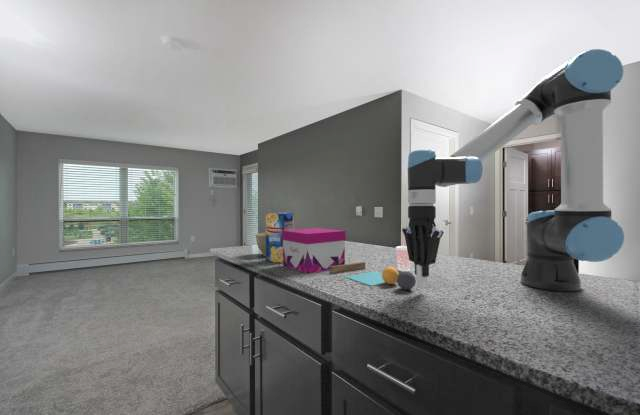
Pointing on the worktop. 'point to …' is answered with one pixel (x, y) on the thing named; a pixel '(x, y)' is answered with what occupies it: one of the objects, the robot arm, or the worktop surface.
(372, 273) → the teal mark
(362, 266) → the wall
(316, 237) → the decorative box
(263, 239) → the planter bowl
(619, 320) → the worktop surface
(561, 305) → the worktop surface
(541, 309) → the worktop surface
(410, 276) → the gray ball
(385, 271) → the orange ball
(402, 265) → the beverage cup
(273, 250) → the beverage box
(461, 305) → the worktop surface
